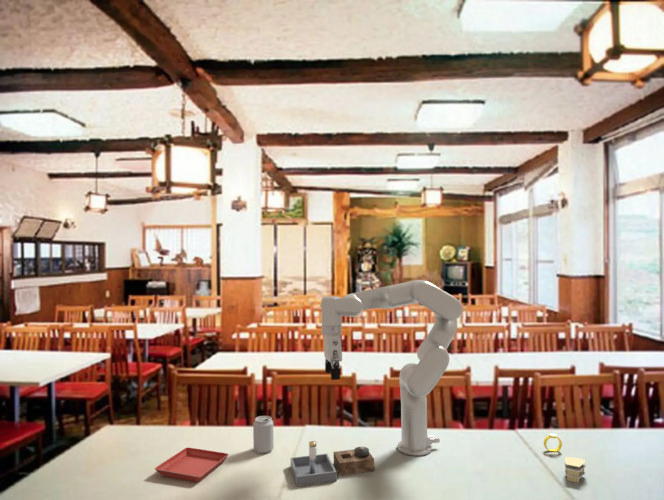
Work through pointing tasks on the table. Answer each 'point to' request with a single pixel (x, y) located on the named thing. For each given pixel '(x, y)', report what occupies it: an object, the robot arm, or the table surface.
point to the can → (263, 434)
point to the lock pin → (312, 458)
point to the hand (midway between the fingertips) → (332, 375)
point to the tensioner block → (353, 461)
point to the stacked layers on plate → (574, 468)
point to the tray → (323, 474)
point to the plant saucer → (191, 464)
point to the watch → (553, 437)
